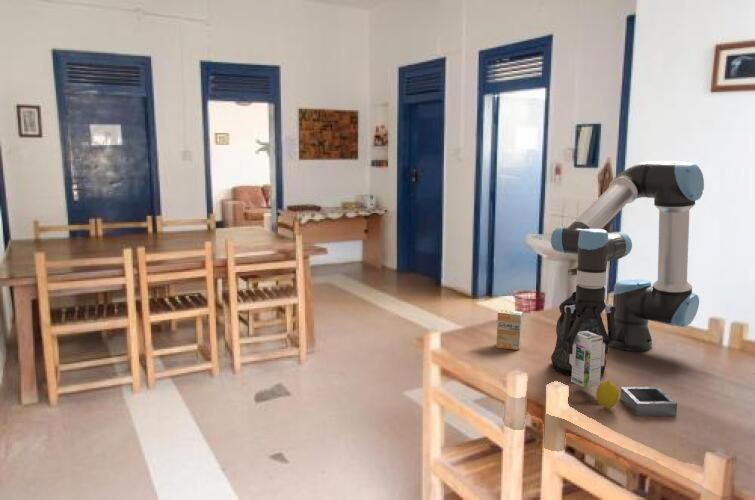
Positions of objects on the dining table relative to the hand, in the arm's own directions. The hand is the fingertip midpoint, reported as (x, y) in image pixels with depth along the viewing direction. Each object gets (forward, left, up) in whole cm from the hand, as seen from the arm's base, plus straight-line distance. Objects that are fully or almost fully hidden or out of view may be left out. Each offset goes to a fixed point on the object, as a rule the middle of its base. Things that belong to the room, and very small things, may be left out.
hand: (586, 364), depth 160 cm
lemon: (-3, +9, -10) cm, 13 cm away
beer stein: (-4, -18, -10) cm, 21 cm away
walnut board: (0, 0, -9) cm, 9 cm away
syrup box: (0, 0, -6) cm, 6 cm away
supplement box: (+13, -40, -10) cm, 43 cm away
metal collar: (-14, +8, -9) cm, 19 cm away
